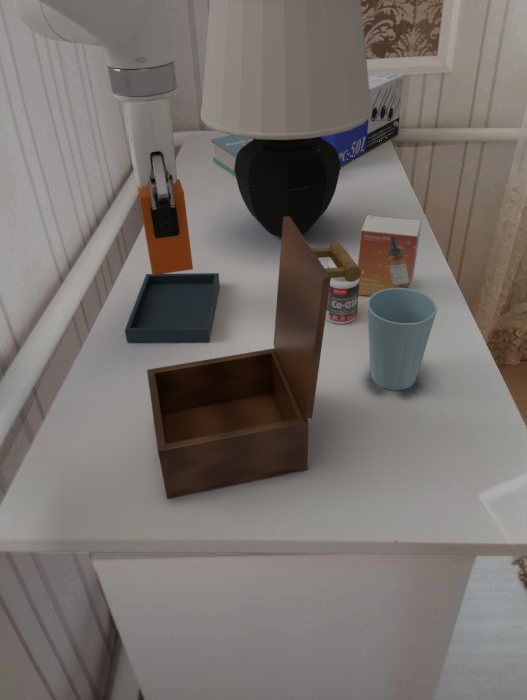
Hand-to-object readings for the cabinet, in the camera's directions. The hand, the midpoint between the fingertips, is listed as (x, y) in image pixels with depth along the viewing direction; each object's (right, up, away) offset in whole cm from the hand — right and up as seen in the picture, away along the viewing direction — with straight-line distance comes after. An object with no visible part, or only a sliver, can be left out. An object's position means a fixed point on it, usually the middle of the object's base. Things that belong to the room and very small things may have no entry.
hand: (165, 226), depth 79 cm
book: (+14, +24, +54) cm, 61 cm away
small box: (+31, -7, +11) cm, 34 cm away
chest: (+9, -26, -13) cm, 31 cm away
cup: (+29, -20, -5) cm, 35 cm away
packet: (0, -5, +4) cm, 6 cm away
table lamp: (+17, +4, +28) cm, 33 cm away
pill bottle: (+24, -12, +6) cm, 27 cm away
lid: (+16, -13, -21) cm, 29 cm away
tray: (0, -11, +8) cm, 13 cm away
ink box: (+35, +31, +62) cm, 78 cm away
